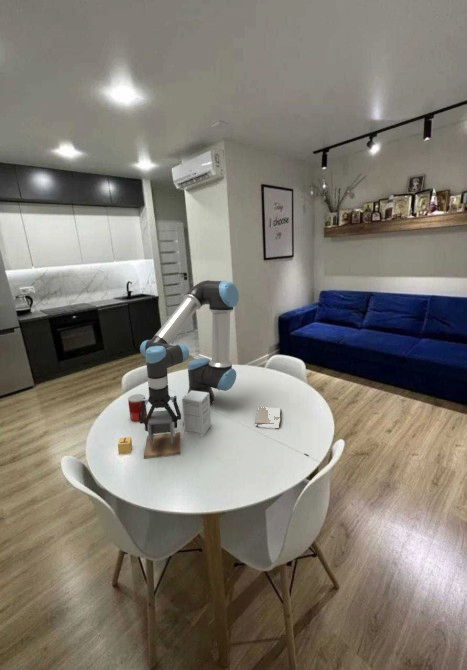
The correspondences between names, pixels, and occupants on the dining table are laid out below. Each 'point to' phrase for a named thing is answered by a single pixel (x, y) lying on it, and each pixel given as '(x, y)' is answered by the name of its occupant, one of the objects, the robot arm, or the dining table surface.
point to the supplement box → (196, 412)
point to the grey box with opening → (160, 424)
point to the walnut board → (162, 446)
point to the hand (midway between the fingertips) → (162, 435)
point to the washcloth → (263, 417)
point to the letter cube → (125, 445)
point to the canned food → (136, 407)
